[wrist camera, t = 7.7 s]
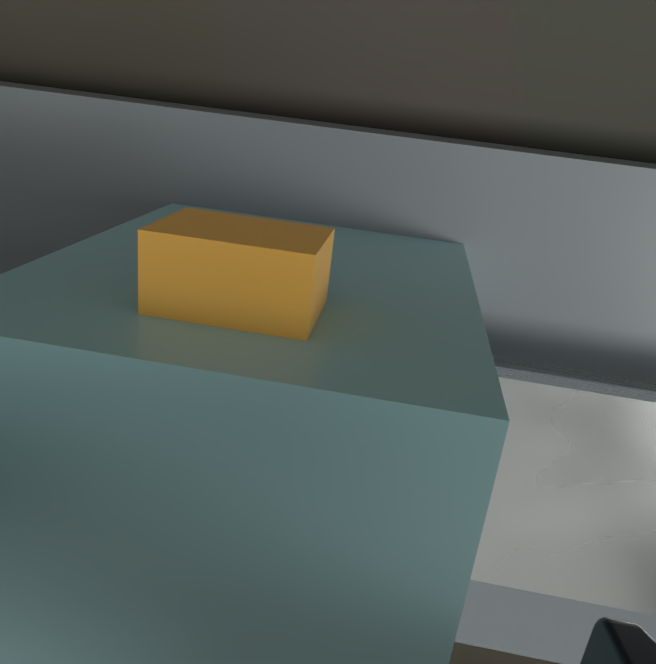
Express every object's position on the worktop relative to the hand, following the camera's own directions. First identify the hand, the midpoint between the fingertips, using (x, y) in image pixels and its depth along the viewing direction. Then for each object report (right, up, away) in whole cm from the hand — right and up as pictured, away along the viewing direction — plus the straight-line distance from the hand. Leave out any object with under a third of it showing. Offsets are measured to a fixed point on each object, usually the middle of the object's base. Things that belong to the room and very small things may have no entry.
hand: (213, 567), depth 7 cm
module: (+1, +1, +4) cm, 5 cm away
